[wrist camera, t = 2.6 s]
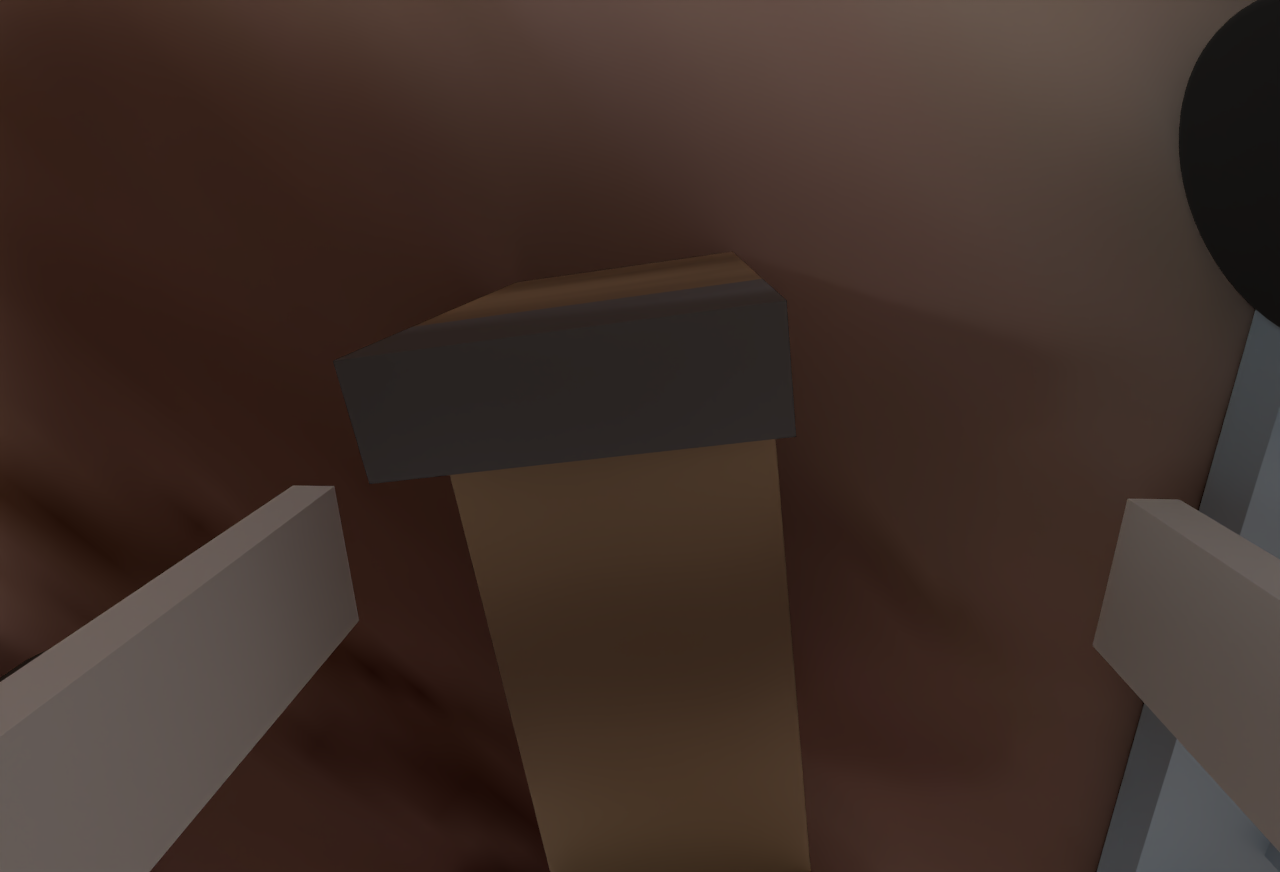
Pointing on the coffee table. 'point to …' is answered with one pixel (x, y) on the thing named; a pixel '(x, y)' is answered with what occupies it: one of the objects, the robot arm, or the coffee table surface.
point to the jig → (1158, 763)
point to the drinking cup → (1238, 152)
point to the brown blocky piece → (620, 547)
